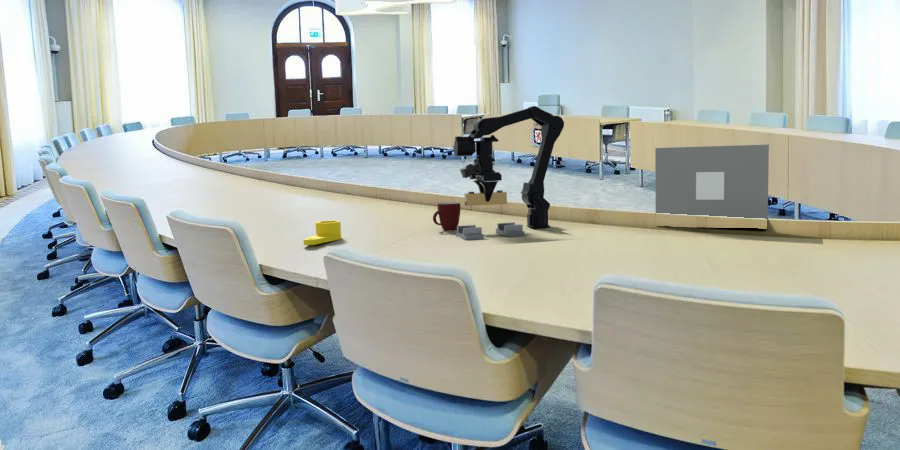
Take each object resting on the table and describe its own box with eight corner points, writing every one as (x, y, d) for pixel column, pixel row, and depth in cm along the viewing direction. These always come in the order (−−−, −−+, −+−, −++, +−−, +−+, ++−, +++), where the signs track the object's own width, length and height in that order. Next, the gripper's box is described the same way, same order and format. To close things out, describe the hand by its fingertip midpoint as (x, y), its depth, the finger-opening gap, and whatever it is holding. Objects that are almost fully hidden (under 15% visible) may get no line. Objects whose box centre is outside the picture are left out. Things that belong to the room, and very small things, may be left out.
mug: (442, 233, 239) (441, 205, 237) (428, 232, 245) (427, 204, 244) (465, 230, 245) (464, 202, 244) (451, 229, 251) (450, 201, 250)
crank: (324, 237, 243) (323, 220, 243) (345, 237, 240) (344, 220, 240) (296, 244, 226) (295, 226, 226) (318, 245, 224) (317, 226, 223)
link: (504, 203, 241) (503, 189, 240) (506, 203, 237) (506, 190, 237) (464, 205, 239) (464, 191, 238) (466, 205, 235) (466, 192, 235)
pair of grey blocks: (512, 231, 237) (512, 221, 237) (524, 236, 226) (524, 225, 225) (456, 235, 232) (455, 225, 232) (465, 240, 221) (465, 229, 220)
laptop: (767, 220, 246) (768, 143, 242) (767, 229, 222) (768, 144, 219) (665, 219, 260) (665, 146, 257) (655, 227, 236) (655, 148, 233)
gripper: (454, 156, 243) (456, 200, 245) (469, 156, 225) (470, 204, 227) (485, 155, 246) (486, 198, 248) (501, 155, 228) (502, 202, 230)
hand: (485, 201), depth 238 cm, fingers closed on link, 4 cm apart
